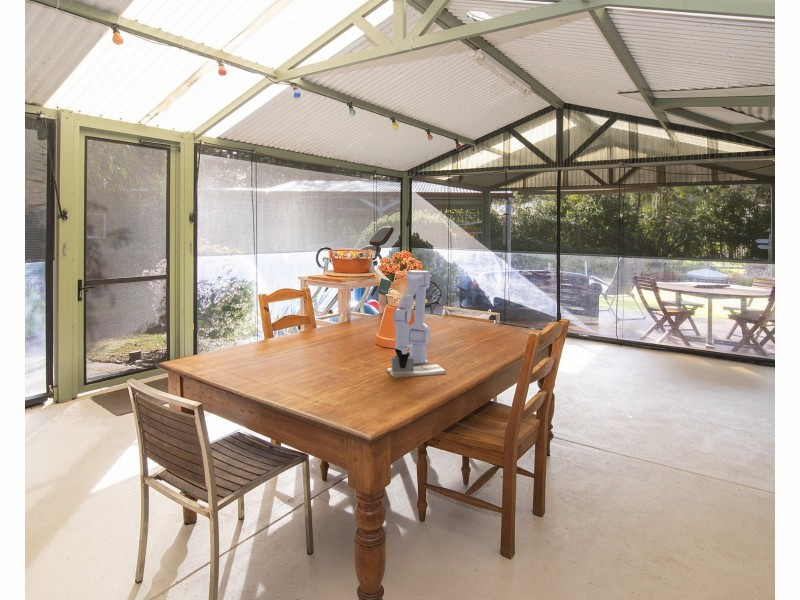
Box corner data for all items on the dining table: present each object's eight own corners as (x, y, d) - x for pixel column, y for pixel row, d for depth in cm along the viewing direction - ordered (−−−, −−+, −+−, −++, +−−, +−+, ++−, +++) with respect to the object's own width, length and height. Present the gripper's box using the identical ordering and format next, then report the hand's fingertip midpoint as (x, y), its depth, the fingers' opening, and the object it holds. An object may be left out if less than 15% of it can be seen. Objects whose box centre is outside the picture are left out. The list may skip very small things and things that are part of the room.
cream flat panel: (386, 370, 220) (386, 368, 220) (436, 366, 227) (436, 364, 227) (393, 377, 210) (393, 375, 210) (446, 373, 217) (446, 370, 217)
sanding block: (391, 369, 218) (391, 356, 217) (411, 368, 220) (411, 355, 219) (393, 372, 213) (393, 359, 213) (413, 371, 215) (413, 358, 214)
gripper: (414, 339, 208) (413, 370, 210) (408, 332, 222) (408, 361, 224) (397, 339, 207) (397, 371, 209) (393, 332, 221) (392, 362, 223)
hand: (401, 366), depth 216 cm, fingers closed on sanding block, 5 cm apart
